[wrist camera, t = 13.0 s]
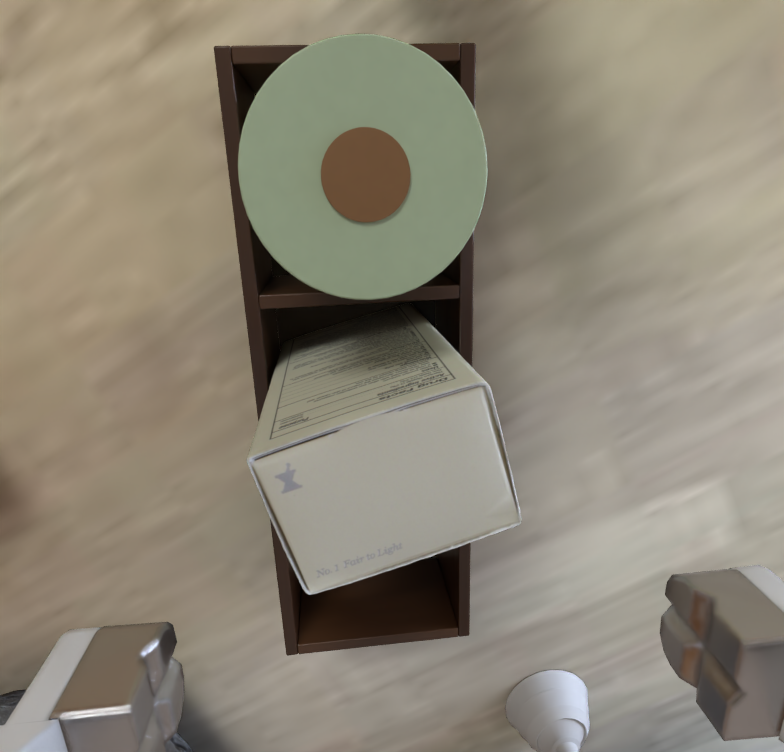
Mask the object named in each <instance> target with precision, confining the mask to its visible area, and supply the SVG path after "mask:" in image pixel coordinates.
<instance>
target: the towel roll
mask: <svg viewBox="0 0 784 752" xmlns="http://www.w3.org/2000/svg"><path fill="white" fill-rule="evenodd" d="M487 174H488V169H487V152H486V146H485V140H484V136H483V132H482V129H481V126H480V122H479V120H478V117H477V115H476V113H475V110H474V108H473V106H472V104H471V102H470V100H469V99H468V97H467V95H466V94H465V92H464V90H463V89H462V88H461V86H460V85H459V84H458V83H457V81H456V80H455V79H454V77H453V76H452V75H451V74H450V73H449V72H448V71H447V70H446V69H445V68H444V67H443V66H442V65H441V64H440V63H438V62H437V61H436V60H434V59H433V58H432V57H430V56H429V55H428V54H426V53H425V52H423V51H421V50H419V49H417V48H415V47H414V46H412V45H410V44H407V43H405V42H402V41H399V40H397V39H394V38H389V37H385V36H380V35H373V34H348V35H340V36H336V37H332V38H327V39H324V40H321V41H319V42H316V43H314V44H311V45H309V46H307V47H305V48H304V49H302V50H300V51H299V52H297V53H295V54H294V55H292V56H291V57H290V58H288V59H287V60H286V61H285V62H283V63H282V64H281V65H280V66H279V67H278V68H277V69H276V70H275V71H274V72H273V73H272V74H271V75H270V76H269V78H268V79H267V80H266V81H265V83H264V84H263V86H262V87H261V89H260V90H259V91H258V93H257V95H256V97H255V98H254V100H253V102H252V104H251V106H250V108H249V111H248V113H247V116H246V119H245V122H244V125H243V128H242V133H241V138H240V143H239V153H238V176H239V185H240V190H241V196H242V200H243V203H244V206H245V210H246V213H247V216H248V218H249V220H250V222H251V224H252V227H253V229H254V231H255V233H256V234H257V236H258V237H259V239H260V241H261V242H262V244H263V246H264V247H265V248H266V249H267V251H268V252H269V253H270V254H271V256H272V257H273V258H274V259H275V260H276V261H277V262H278V263H279V264H280V265H281V266H282V267H283V268H284V269H285V270H286V271H288V272H289V273H290V274H292V275H293V276H294V277H296V278H297V279H298V280H300V281H302V282H303V283H305V284H307V285H309V286H310V287H312V288H315V289H317V290H319V291H322V292H324V293H327V294H330V295H334V296H337V297H341V298H348V299H355V300H375V299H383V298H389V297H393V296H397V295H401V294H403V293H406V292H408V291H411V290H413V289H416V288H418V287H419V286H421V285H423V284H425V283H427V282H428V281H430V280H431V279H433V278H434V277H435V276H437V275H438V274H439V273H441V272H442V271H443V270H444V269H445V268H446V267H447V266H448V265H449V264H450V263H451V262H452V261H453V260H454V259H455V258H456V256H457V255H458V254H459V253H460V252H461V250H462V249H463V248H464V246H465V244H466V243H467V241H468V240H469V238H470V236H471V235H472V232H473V230H474V228H475V226H476V224H477V222H478V219H479V216H480V213H481V210H482V207H483V203H484V198H485V193H486V187H487Z"/></svg>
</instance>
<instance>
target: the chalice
mask: <svg viewBox="0 0 784 752" xmlns="http://www.w3.org/2000/svg"><path fill="white" fill-rule="evenodd" d="M587 702H588V693H587V688H586V686H585V684H584V683H583V681H582V680H581V679H580V678H578V677H577V676H576V675H575V674H572V673H569V672H566V671H563V670H548V671H543V672H539V673H536V674H533V675H531V676H529V677H527V678H525V679H524V680H523V681H521V682H520V683H519V684H518V685H517V686H515V687H514V689H513V690H512V692H511V693H510V695H509V696H508V699H507V703H506V706H505V710H506V717H507V719H508V720H509V722H510V724H511V725H512V726H513V727H514V728H516V729H517V730H518V731H519V733H520V734H521V736H522V737H523V738H524V739H525V740H527V741H528V743H529V745H530V746H531V748H533V749H534V750H536V751H537V752H578V751H579V750H580V748H581V747H582V746H583V744H584V743H585V741H586V738H587V735H588V732H589V728H590V720H589V718H588V717H589V708H588V704H587Z"/></svg>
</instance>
